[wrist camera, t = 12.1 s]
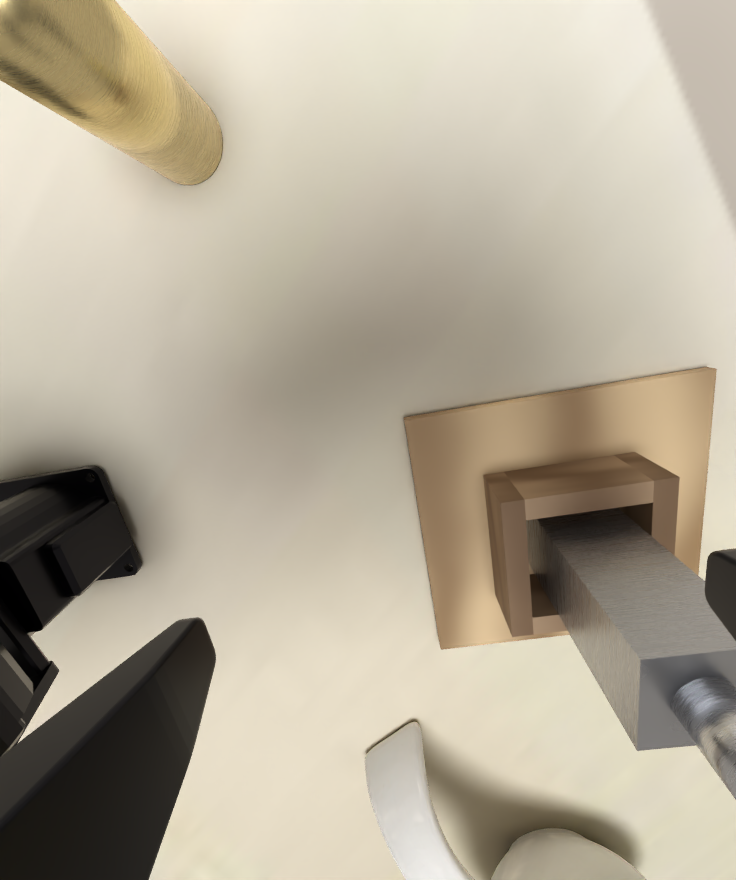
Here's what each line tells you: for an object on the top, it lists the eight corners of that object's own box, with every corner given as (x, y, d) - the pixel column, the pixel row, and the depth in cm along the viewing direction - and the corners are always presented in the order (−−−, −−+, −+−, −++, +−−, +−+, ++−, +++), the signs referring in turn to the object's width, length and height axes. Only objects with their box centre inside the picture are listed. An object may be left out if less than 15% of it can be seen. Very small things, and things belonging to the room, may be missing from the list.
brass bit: (157, 191, 17) (-78, 72, 8) (133, 99, 16) (-164, -145, 7) (231, 177, 16) (67, 40, 8) (210, 83, 15) (-3, -190, 7)
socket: (439, 641, 24) (449, 697, 20) (403, 417, 19) (408, 440, 16) (686, 612, 23) (740, 666, 19) (706, 366, 18) (780, 380, 15)
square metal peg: (527, 561, 21) (699, 858, 10) (523, 501, 20) (711, 756, 9) (597, 552, 21) (859, 847, 9) (597, 490, 20) (893, 740, 8)
